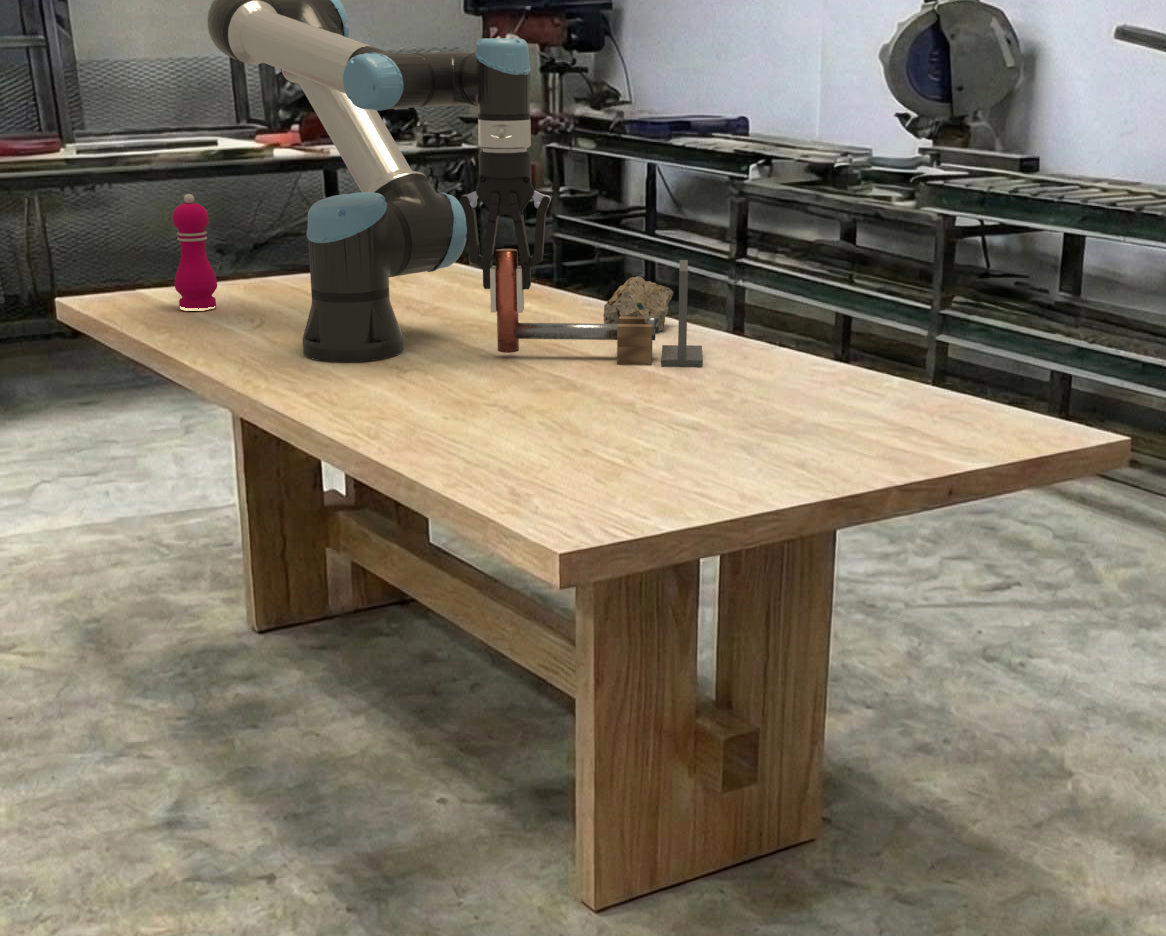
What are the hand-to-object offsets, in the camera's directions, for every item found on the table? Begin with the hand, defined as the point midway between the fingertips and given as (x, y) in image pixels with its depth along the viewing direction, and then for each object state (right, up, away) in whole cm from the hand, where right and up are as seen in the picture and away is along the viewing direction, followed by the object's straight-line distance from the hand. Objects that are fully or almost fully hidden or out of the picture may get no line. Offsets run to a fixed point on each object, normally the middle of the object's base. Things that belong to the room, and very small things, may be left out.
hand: (507, 310), depth 214 cm
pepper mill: (-57, +4, +39) cm, 69 cm away
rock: (+21, -1, +20) cm, 29 cm away
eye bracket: (+26, -7, 0) cm, 27 cm away
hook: (+10, -6, +1) cm, 12 cm away
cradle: (+19, -7, +1) cm, 20 cm away
